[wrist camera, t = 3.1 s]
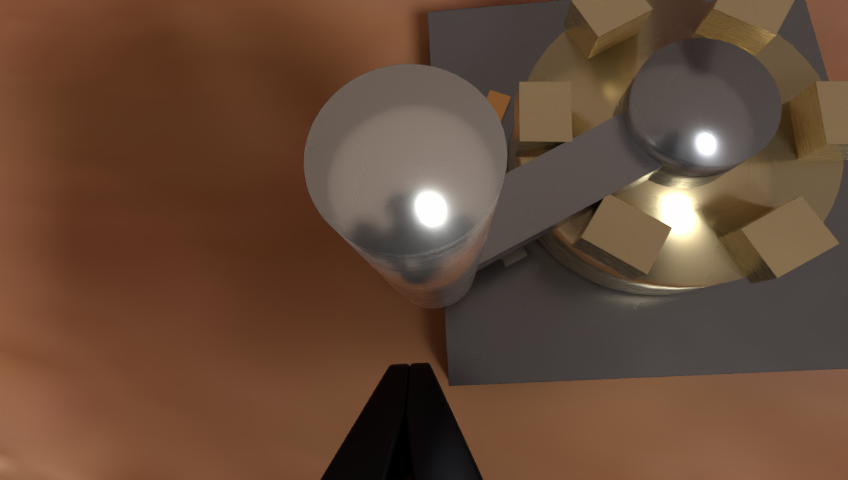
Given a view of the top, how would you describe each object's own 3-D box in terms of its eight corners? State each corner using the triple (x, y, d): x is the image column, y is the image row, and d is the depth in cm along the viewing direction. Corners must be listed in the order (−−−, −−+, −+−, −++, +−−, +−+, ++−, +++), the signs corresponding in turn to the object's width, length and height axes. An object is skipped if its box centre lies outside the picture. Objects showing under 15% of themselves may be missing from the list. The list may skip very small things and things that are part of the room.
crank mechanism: (673, 7, 17) (945, -414, 7) (841, 215, 14) (1522, -14, 5) (342, 177, 16) (187, -56, 7) (467, 423, 14) (495, 579, 5)
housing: (867, 363, 15) (918, 365, 13) (449, 382, 16) (449, 386, 14) (771, 9, 18) (803, -25, 17) (429, 37, 19) (427, 7, 17)
